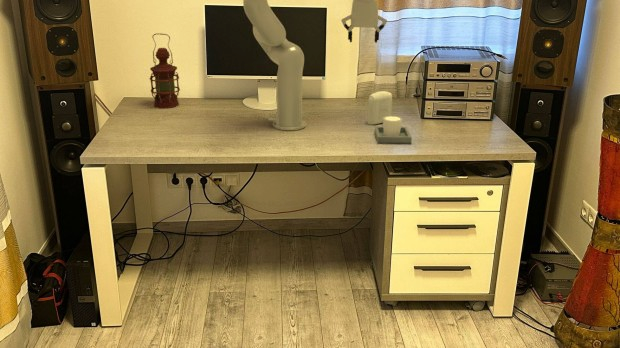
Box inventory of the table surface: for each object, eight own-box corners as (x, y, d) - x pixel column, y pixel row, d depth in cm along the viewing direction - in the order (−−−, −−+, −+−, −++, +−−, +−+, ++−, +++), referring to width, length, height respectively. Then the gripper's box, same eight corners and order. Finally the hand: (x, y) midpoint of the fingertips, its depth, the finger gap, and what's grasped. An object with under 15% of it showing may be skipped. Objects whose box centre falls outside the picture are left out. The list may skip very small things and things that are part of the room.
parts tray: (377, 143, 226) (377, 137, 225) (374, 133, 238) (374, 126, 237) (411, 144, 226) (411, 137, 226) (406, 133, 238) (406, 127, 237)
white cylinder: (395, 141, 227) (396, 122, 225) (378, 137, 231) (379, 119, 228) (404, 136, 233) (405, 117, 230) (387, 132, 236) (388, 114, 234)
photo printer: (385, 118, 254) (387, 88, 250) (392, 121, 251) (394, 91, 246) (365, 123, 249) (366, 92, 244) (372, 125, 246) (373, 94, 241)
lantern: (185, 102, 274) (181, 31, 262) (173, 110, 263) (168, 36, 251) (159, 100, 276) (153, 30, 265) (146, 107, 265) (140, 35, 254)
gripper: (342, -4, 234) (341, 43, 241) (389, -3, 234) (386, 43, 241) (341, -6, 241) (340, 39, 248) (387, -5, 241) (384, 40, 248)
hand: (363, 41), depth 244 cm, fingers open, 9 cm apart
